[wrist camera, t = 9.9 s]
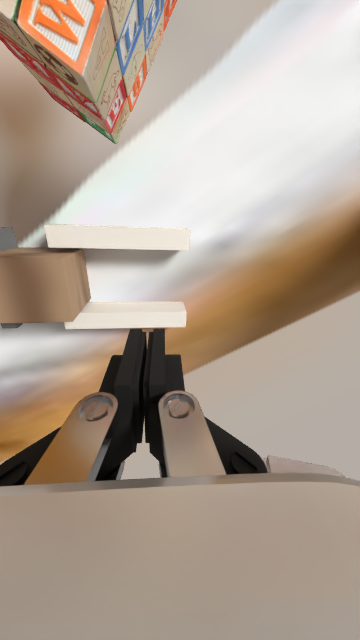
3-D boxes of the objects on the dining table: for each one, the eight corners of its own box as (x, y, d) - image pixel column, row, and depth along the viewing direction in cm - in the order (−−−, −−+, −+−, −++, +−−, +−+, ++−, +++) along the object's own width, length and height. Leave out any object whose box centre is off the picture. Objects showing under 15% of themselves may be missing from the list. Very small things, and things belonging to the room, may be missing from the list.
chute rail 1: (186, 228, 25) (190, 230, 22) (185, 246, 26) (189, 250, 23) (58, 224, 24) (43, 225, 21) (61, 243, 25) (48, 247, 22)
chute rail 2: (182, 301, 29) (186, 311, 26) (182, 315, 30) (185, 326, 27) (72, 302, 28) (62, 313, 24) (75, 316, 28) (65, 329, 25)
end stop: (12, 227, 23) (-14, 229, 20) (34, 313, 28) (17, 328, 24) (-3, 227, 23) (-32, 228, 20) (22, 313, 27) (2, 328, 24)
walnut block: (83, 248, 25) (60, 258, 19) (91, 298, 28) (72, 321, 21) (18, 247, 24) (-29, 257, 18) (31, 298, 27) (-6, 323, 21)
